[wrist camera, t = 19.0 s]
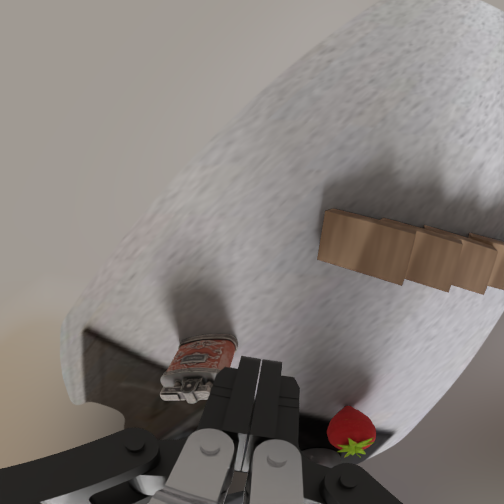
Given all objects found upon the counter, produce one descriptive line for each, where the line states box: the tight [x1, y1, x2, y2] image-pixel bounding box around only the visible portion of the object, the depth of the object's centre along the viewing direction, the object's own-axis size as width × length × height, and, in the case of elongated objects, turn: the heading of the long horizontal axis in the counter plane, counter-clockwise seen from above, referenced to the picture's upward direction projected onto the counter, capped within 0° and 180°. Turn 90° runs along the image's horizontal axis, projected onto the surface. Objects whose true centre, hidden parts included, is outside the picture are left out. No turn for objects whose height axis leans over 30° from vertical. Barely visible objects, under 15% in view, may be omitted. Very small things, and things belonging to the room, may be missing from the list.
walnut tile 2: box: [381, 218, 463, 293], centre depth 28 cm, size 2×5×9 cm
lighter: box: [160, 334, 238, 403], centre depth 34 cm, size 8×3×10 cm, turn 106°
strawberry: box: [327, 406, 376, 457], centre depth 35 cm, size 6×8×10 cm
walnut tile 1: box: [317, 208, 417, 286], centre depth 29 cm, size 2×5×9 cm
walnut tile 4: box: [468, 233, 504, 290], centre depth 27 cm, size 2×5×9 cm
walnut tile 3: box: [424, 225, 498, 295], centre depth 28 cm, size 2×5×9 cm
